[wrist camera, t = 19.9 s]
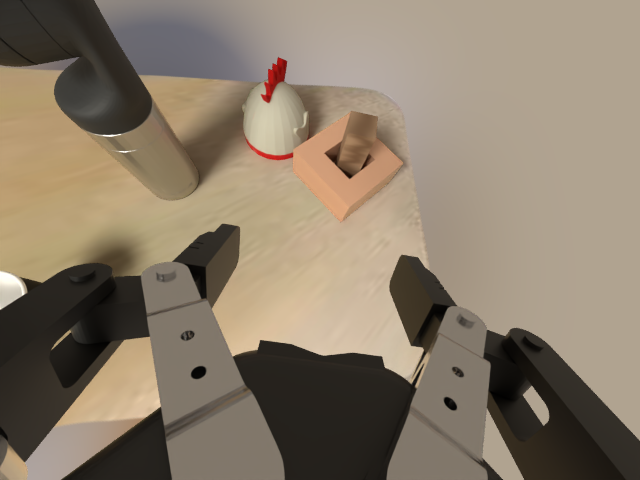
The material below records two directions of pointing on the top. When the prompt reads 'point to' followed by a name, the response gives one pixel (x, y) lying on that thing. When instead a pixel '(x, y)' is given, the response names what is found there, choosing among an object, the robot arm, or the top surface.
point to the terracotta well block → (330, 182)
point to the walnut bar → (356, 143)
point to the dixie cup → (13, 287)
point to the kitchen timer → (275, 116)
